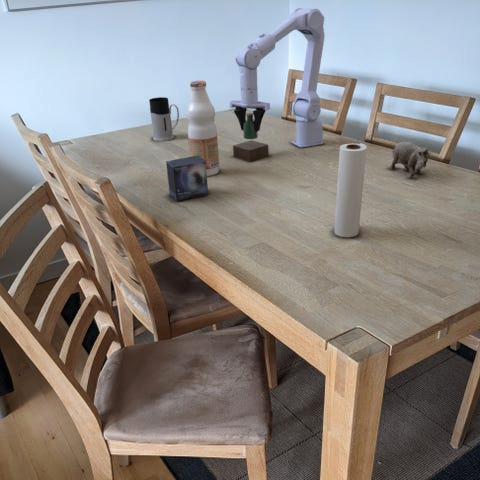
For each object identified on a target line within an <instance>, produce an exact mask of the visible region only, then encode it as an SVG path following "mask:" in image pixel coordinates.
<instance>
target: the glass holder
mask: <svg viewBox="0 0 480 480" xmlns="http://www.w3.org/2000/svg"><path fill="white" fill-rule="evenodd" d="M148 102H149V112H150V118H151V120H150V121H151V126H152V134H153V137H152V140H153V141H155V142H166V141H171V140H173V139H174V138H175V136H174V134H173V130H174V129H175V128H176V126H177V125H178V123H179V119H180V112H179V108H178V105H176V104H174V103H172V104H170V103H169V98H168V97H165V96H164V97H163V96H161V97H160V96H159V97H152V98H149V100H148ZM172 106H173V107H175V109H176V115H177V116H176V122H175V124H174V125H173V126H172V117H171V115H172Z"/></svg>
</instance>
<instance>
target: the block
mask: <svg viewBox="0 0 480 480" xmlns="http://www.w3.org/2000/svg"><path fill="white" fill-rule="evenodd" d="M232 152H233V154H232V155H233V157H234V158H236V159H239V160H243V161H245V162H249V163H251V162H254V161H257V160H261V159H263V158H267V157H269V144H267V143H264V142H259V141H256V140H254V139H250V140H247V141H244V142H240V143H237V144H234V145H232Z"/></svg>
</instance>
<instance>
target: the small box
mask: <svg viewBox="0 0 480 480" xmlns="http://www.w3.org/2000/svg"><path fill="white" fill-rule="evenodd" d="M165 165H166V174H167V182H168V193H169V194H168V195H169V196H170V197H171V198H173V199H174V200H175V201H176V202H179V201H180V202H181V201H183V200H189V199H194V198H198V197H202V196H207V195H209V187H208V186H209V185H208V176H207V170H206V161H205V160H204V159H202V158H201V157H199V156H198V155H197V156H192V157H190V156H186V157H182V158H176V159H172V160H171V159H170V160H167V161H165Z"/></svg>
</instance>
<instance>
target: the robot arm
mask: <svg viewBox="0 0 480 480" xmlns="http://www.w3.org/2000/svg"><path fill="white" fill-rule="evenodd" d="M324 23H325V16H324V15H323V13H322V12H321V10H320V9H318V8H302V7H298V8H296V9H295V10H293V11H292V12H290V13H289V15H288V16H287V17H286V18H285V19H284V20H283V21H282V22H280V24H278V25H277V27H275V28H274V29H273V30H272V31H271V32H270V33H268V32H263V33H262V32H260V33H259V34H258V37H257V39H255V40H254V41H252V42H249V43H248V44H247V47H242V48H240V49H239V50H238V52H237V55H236V57H235V62H236V64H237V66H238V71H239V85H240V86H239V87H240V100H231V101H229V108H231V109H233V108H234V109H233V113H234V115H235V116H236V118H237V120H238V123H239V126H240V130H241V131H243V122H244V121H245V120H247V115H246V114H247V110H248V109H250V110H253V111H252V113H253V119H255V132H258V133H259V131H261V125H262V121H263V118H264V116H265V113H266V111H269V110H270V109H271V103H270V102H264V101H259V97H258V96H259V94H258V91H259V90H258V67H259V66H260V63H261V61H262V60H263V59H264V58H265V57H266V56H268V55H269V54H270V53H271V52H273V51H274V50H275V49H276V44H277V43H278V42H280V41H281V40H282V39H283V38H285V37H286V36H288V35H289V34H290V33H292V32H294V31H298V32H299V33H301V34H302V35H303V36H304V38H305V40H306V41H307V45H306V52H305V59H304V66H303V72H302V74H303V75H302V80H301V87H300V88H301V89H300V91H298V93H297V94H296V95H295V100H294V102H293V105H292V113H293V115H295V120H296V123H295V125H296V126H295V127H296V129H295V140H292V141H291V143H292V144H293V145H295V146H297V147H299V148H308V147H314V146H320V145H324V142H323V130H324V129H323V128H324V126H323V121H322V119H321V118H319V116H320V114H321V98H320V96H319V95H318V92H317V90H318V83H319V76H320V69H321V64H322V57H323V51H324V44H325V37H326V36H325V28H324V25H325V24H324Z"/></svg>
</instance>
